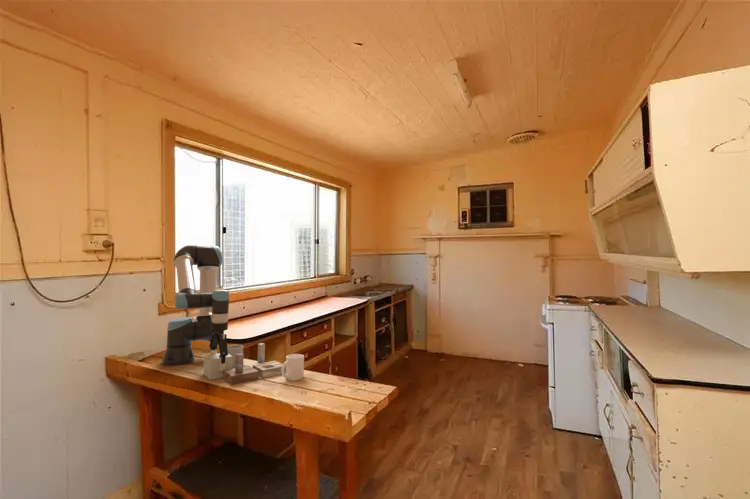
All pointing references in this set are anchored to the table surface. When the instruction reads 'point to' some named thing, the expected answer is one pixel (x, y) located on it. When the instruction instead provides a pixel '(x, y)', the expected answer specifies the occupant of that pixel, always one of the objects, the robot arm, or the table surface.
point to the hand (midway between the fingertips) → (217, 366)
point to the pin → (261, 353)
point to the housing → (215, 365)
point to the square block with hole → (269, 368)
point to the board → (241, 376)
